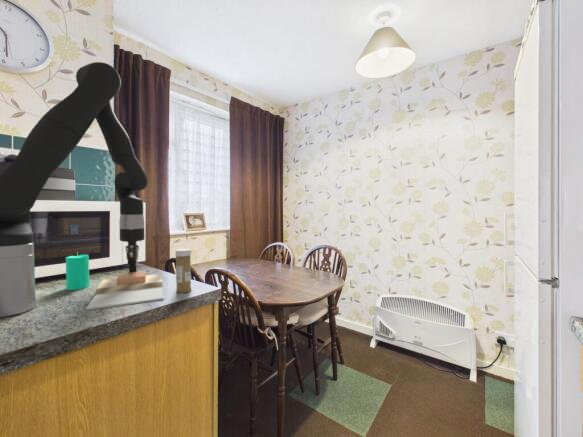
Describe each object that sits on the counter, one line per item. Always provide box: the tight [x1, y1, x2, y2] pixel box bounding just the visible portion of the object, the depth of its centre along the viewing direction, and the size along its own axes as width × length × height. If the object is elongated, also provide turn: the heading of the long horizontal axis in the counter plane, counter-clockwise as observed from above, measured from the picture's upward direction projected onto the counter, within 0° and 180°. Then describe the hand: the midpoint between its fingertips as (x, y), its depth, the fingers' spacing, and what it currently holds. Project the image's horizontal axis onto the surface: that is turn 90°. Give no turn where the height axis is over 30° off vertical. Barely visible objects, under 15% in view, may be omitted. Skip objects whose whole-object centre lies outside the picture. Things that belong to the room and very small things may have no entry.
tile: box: [116, 270, 147, 285], centre depth 88 cm, size 8×8×2 cm
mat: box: [85, 285, 164, 311], centre depth 77 cm, size 18×13×1 cm
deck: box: [95, 273, 163, 295], centre depth 89 cm, size 18×12×2 cm, turn 118°
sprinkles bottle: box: [175, 248, 192, 294], centre depth 84 cm, size 5×5×13 cm
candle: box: [65, 251, 90, 291], centre depth 87 cm, size 6×6×12 cm
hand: (132, 275), depth 93 cm, fingers closed
